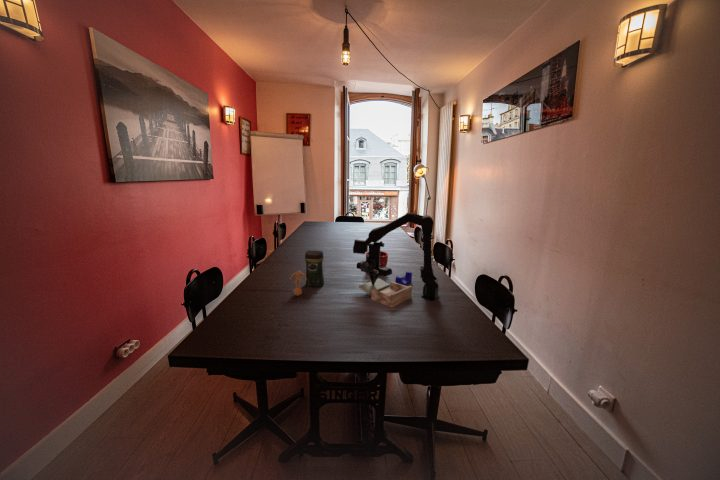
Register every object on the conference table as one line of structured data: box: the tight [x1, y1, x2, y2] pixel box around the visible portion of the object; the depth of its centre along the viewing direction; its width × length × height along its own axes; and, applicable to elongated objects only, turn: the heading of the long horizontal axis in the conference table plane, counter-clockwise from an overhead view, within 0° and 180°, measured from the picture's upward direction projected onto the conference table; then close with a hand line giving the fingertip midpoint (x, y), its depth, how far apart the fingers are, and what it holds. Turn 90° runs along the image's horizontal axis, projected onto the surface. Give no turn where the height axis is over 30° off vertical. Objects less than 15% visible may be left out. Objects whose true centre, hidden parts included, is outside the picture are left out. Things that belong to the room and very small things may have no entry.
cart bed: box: [370, 281, 413, 308], centre depth 141 cm, size 12×16×6 cm
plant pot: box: [365, 250, 389, 268], centre depth 177 cm, size 13×13×12 cm
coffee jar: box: [304, 249, 325, 288], centre depth 155 cm, size 10×8×19 cm
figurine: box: [289, 270, 307, 297], centre depth 142 cm, size 8×6×12 cm
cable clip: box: [394, 271, 413, 286], centre depth 160 cm, size 12×4×6 cm, turn 141°
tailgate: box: [358, 277, 390, 297], centre depth 148 cm, size 2×16×8 cm
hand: (373, 284), depth 148 cm, fingers closed, pressing on tailgate
